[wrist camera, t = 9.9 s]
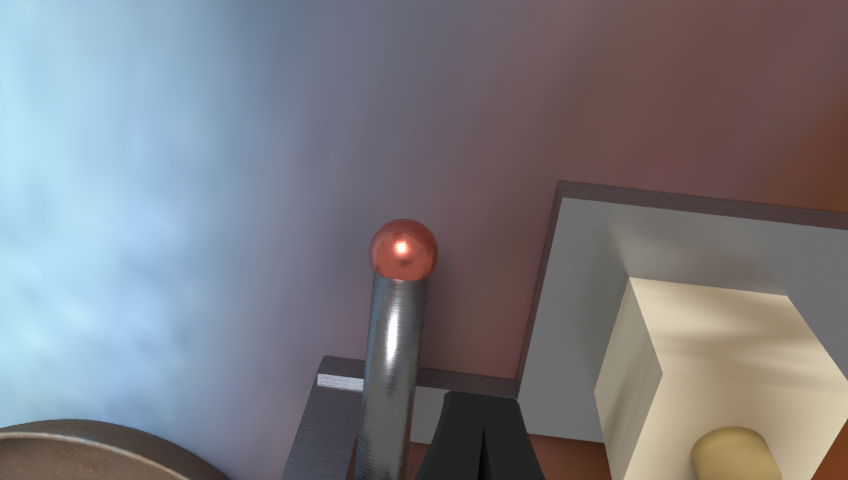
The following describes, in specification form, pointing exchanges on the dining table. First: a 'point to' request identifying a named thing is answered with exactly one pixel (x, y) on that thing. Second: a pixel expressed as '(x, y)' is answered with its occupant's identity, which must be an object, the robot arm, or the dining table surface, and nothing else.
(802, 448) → the block
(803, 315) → the grey panel board
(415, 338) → the lever
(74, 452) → the plant saucer
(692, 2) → the dining table surface
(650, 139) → the dining table surface
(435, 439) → the robot arm
